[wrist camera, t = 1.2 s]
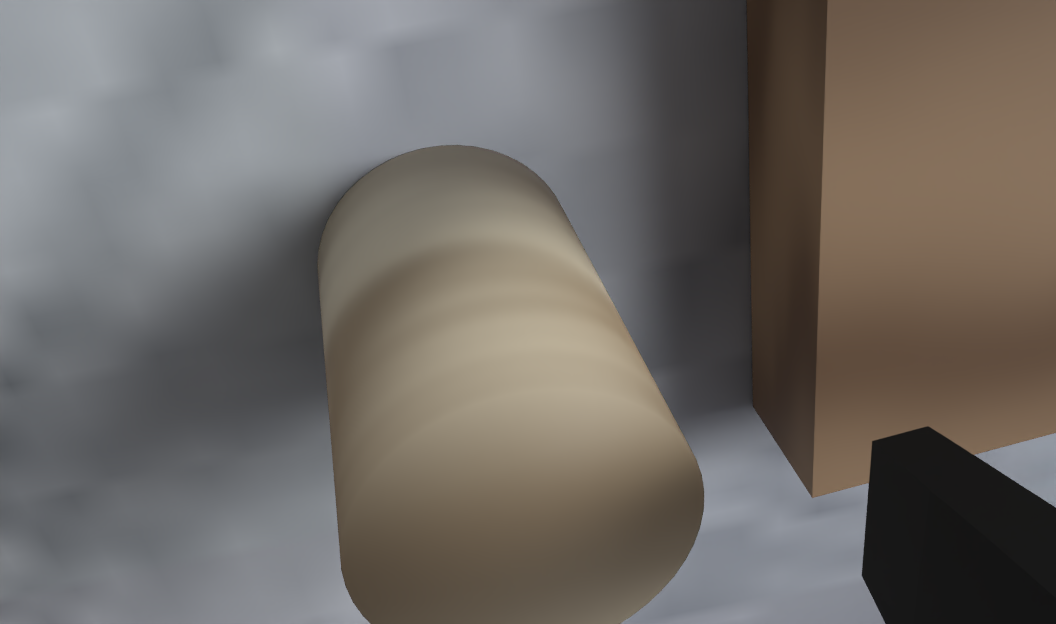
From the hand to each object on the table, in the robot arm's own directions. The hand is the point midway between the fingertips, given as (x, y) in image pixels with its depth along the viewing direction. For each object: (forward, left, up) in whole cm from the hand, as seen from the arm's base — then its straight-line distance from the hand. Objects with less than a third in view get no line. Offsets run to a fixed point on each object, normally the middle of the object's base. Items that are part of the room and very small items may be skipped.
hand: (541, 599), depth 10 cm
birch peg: (0, 0, -7) cm, 7 cm away
